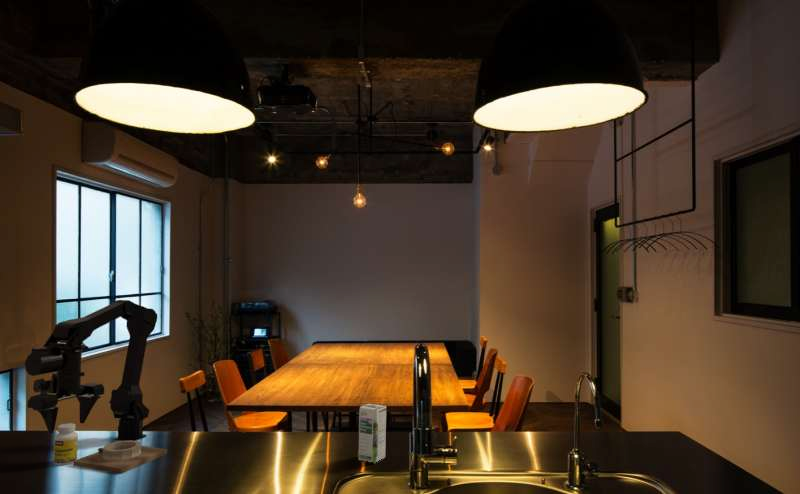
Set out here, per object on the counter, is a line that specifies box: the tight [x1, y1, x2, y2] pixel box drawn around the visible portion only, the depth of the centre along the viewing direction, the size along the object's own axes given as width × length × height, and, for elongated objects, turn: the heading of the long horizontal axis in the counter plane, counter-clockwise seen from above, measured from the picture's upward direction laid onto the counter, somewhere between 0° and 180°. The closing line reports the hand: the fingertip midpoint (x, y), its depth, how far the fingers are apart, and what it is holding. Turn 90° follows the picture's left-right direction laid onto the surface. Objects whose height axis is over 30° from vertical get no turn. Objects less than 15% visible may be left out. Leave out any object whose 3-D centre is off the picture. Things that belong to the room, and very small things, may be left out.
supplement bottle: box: [53, 422, 79, 466], centre depth 146 cm, size 5×5×10 cm
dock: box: [72, 440, 168, 475], centre depth 149 cm, size 16×16×4 cm
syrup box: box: [357, 403, 387, 464], centre depth 152 cm, size 6×6×14 cm
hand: (66, 427), depth 147 cm, fingers open, 9 cm apart
